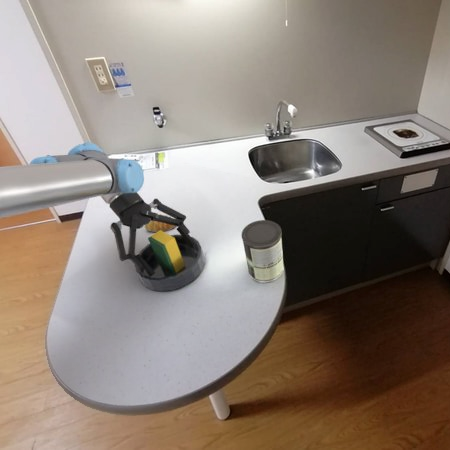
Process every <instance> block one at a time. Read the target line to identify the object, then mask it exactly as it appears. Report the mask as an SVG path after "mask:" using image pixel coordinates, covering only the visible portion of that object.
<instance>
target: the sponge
mask: <svg viewBox="0 0 450 450" xmlns="http://www.w3.org/2000/svg"><path fill="white" fill-rule="evenodd" d="M170 235H171V234H168V233H167V232H166V231H161V230H159V231H158V232H154V234H151V235H150V236H149V237H147V240H148V242H149V244H151V246H152V249H153V251H154V253H155V255H156V258H157V260H158V262H159V264H160V266H161V267H163V268H164V269H166V270H167V271H169V272H171V273H172V274H175V273H177V272H178V271H179V270H180V269H182V268H183V267H184V266H185V264H184V262H183V259H182V256H181V254H180V251H179V248H178V246H177V243H176V240H175V238H174V237H172V236H170Z"/></svg>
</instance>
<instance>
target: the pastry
mask: <svg viewBox="0 0 450 450" xmlns="http://www.w3.org/2000/svg"><path fill="white" fill-rule="evenodd" d="M159 215H163V216H166V217H170V218H172V217H171V216H169V215H167V214H165V215H164V214H159ZM175 227H176V226H173V225H169V224H165V223H161V222H157V221H150V222H149V223H148V224H146V225H144V228H145V230H146V231H149V232H154V233H156V232H158V231H159V230H161V231H163V232H166V231H170V230H172V229H174V228H175Z"/></svg>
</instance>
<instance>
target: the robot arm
mask: <svg viewBox="0 0 450 450" xmlns="http://www.w3.org/2000/svg"><path fill="white" fill-rule="evenodd" d="M144 174H145V173H144V169H143V167H142V165H141V164H140V163H139V162H138V161H136V160H133V159H126V158H109V157H108V156H107V154H106V153H105V152H104V151H103V150H102V149H101V148H100V147H99V146H98V145H97V144H95V142H84V143H82V144H81V143H80V144H77V145H75V146H73V147H72V148H71V149H70V150H69V151H68V152H67V154H60V155H59V154H58V155H49V154H48V155H45V156H37V157H35V158H33V159H32V160H31V161H30V163H29V164H20V165H19V164H17V165H6V166H0V220H1V219H2V220H3V219H6V218H7V219H8V218H11V217H14V216H19V215H23V214H28V213H32V212H36V211H41V210H44V209H50V208H54V207H58V206H62V205H67V204H71V203H75V202H79V201H84V200H88V199H93V198H98V197H100V198H101V199H102V200H103V201H104V202H105V203H106V204H107V205H109V208H110V210H112V212H113V213H114V214H115V215H116V216H117V218H118V219H119V220H118V221H116V222H112V223H111V224H110V226H109V229H110V230H111V231H112V233H113V234H114V239H115V244H116V248H117V253H118V258H119V261H120V262H124V261H131V262H132V264H133V265H134V266H135V265H136V266H137V268H139V269H140V268H141V267H143V268H144V269H145V270H146V272H147V273H148V274H149V275H150V276H152V275H154V274H155V272H154V271H153V269H152V268H151V267H150V266H149V265H148V264H147V263H146V261H145V260H144V259H143V258H142V257H141V256H140V255H139V253H137V254H136V243H137V242H136V241H137V230H139V229H140V230H141V229H142V228H143V227H145V225H146V224H148V223H149V222H150V221H157V222H161V223H165V224H169V225H173V226H175V227H177V228H175V229H176V231H177V232H178V234H179V235H181V236H182V237H183V238H184V239H185V240H186V242H187V243H188V244H189V245H190V246H192V245H194V244H195V241H194V240H193V239H192V238H191V237H192V236H190V233H191V232H190V230H189V228H188V227H187V226H186V224H185V220H186V219H187V215H185V214H183V213H182V212H179V211H177V210H175V209H173V208H171V207H170V206H168V205H166V204H164V203H162V202H161V201H160V200H159V199H158V198H154V199H153V200H152V201H151V202H150V203H149V204H148V203H147V202H145V199H143V198H142V197H141V195H140V194H139V193H138V192H140V190H141V189H142V188H143V185H144V181H145V176H144ZM152 209H154V210H158V211H159V212H162V213H164V214H165V215H166V216H168V217H166V216H165V215H164V214H161V215H160V214H159V213H157V212H154V211H152ZM163 215H164V216H163ZM170 217H171V218H170ZM122 226H124V227H128V229H129V231H128V234H129V235H128V251H126V248H125V247H126V246H125V242H124V238H123V234H122V228H123V227H122Z"/></svg>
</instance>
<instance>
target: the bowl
mask: <svg viewBox="0 0 450 450" xmlns="http://www.w3.org/2000/svg"><path fill="white" fill-rule="evenodd" d="M169 235H170V236H172V237H174V238H175V240H176V243H177V246H178V248H179V251H180V254H181V256H182V259H183V262H184V264H185V266H184V267H183V268H182V269H180V270H179V271H178V272H177V273H175V274H172V273H171V272H169V271H167V270H166V269H164V268H163V267H161V266H160V264H159V262H158V260H157V258H156V255H155V253H154V251H153V249H152V246H151V244H150V243H148V244H147V245H145V246H144V247H143V248H142V249H141V250H140V252H139V253H138V254H139V255H140V256H141V257H142V258H143V259H144V260H145V261H146V263H147V264H148V265H149V266H150V267H151V268H152V269H153V271H154V272H155V274H154V275H152V276H150V275H149V274H148V273H147V272H146V270H145V269H144V268H143V267H141V268H140V269H139V268H137V266H136V265H135V264H134V269H135V272H136V274H137V276H138V277H139V280H140V282H141V283H142V284H143V285H144V287H146V288H148V289H150V290H152V291H158V292H166V291H167V292H168V291H172V290H177V289H179V288H182V287H185V286H187V285H188V284H190V283H191V282H192V281H194V280H195V279H197V277H198V276H199V275H200V274H201V272H202V271H203V268H204V266H205V255H204V251H203V248H202V246H201V244H200V242H199V240H197V239H196V238H194V236H190V237H191V238H192V239H193V240H194V241H195V244H194V245H192V246H190V245H189V244H188V243H187V242H186V240H185V239H184V238H183V237H182V236H181V234H179V233H178V234H169Z"/></svg>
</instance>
